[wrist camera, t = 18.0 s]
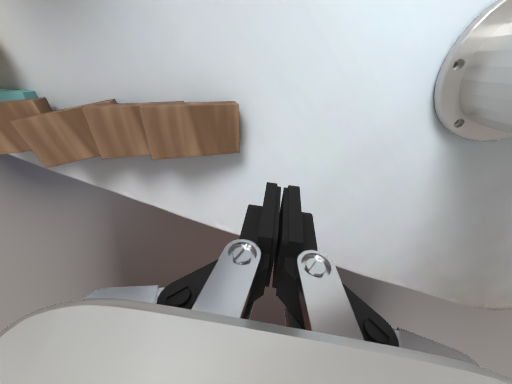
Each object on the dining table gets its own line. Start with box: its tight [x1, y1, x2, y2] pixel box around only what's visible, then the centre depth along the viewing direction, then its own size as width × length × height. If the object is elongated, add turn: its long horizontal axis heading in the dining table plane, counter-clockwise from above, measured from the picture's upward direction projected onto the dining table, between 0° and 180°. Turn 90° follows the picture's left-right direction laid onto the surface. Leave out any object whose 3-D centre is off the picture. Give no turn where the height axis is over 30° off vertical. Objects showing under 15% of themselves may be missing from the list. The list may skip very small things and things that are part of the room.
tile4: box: [0, 97, 53, 154], centre depth 23 cm, size 2×5×9 cm
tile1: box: [139, 101, 240, 160], centre depth 22 cm, size 2×5×9 cm
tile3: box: [11, 99, 117, 168], centre depth 23 cm, size 2×5×9 cm
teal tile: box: [0, 88, 38, 101], centre depth 25 cm, size 2×5×9 cm
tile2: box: [82, 101, 184, 159], centre depth 23 cm, size 2×5×9 cm
